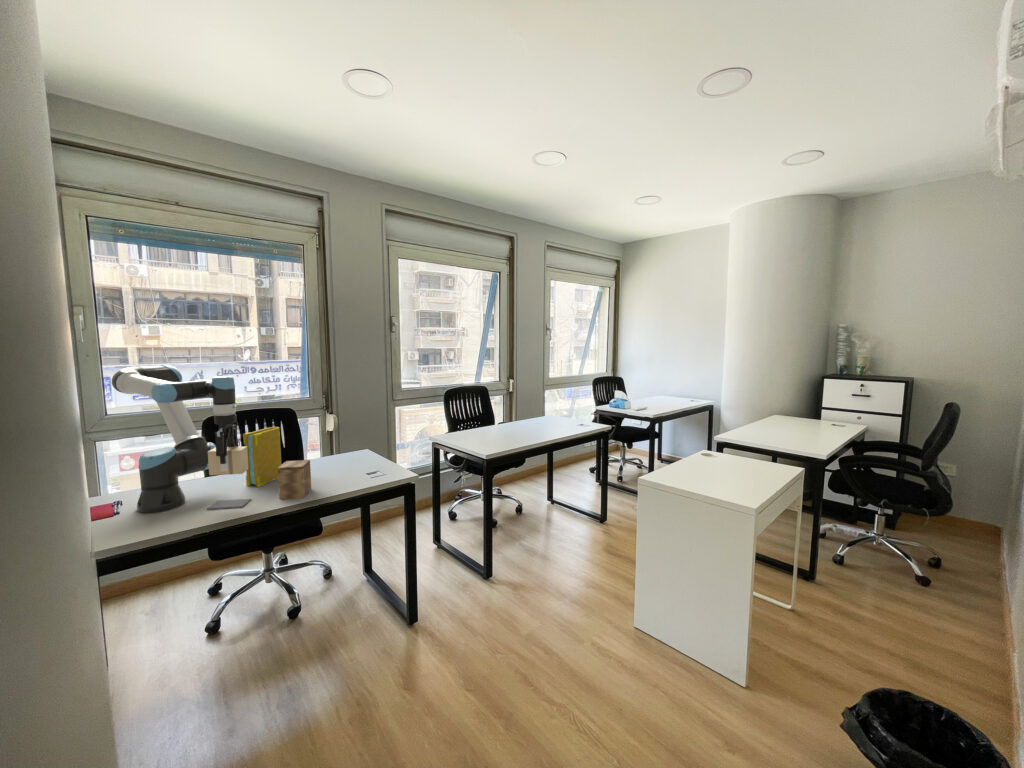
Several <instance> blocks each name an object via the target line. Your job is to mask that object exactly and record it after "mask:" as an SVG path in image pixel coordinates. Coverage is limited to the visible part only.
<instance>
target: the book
mask: <svg viewBox="0 0 1024 768" xmlns="http://www.w3.org/2000/svg"><path fill="white" fill-rule="evenodd" d="M242 437H243V438H242V439H243V445H244V447H246V446H247V453H248V470H247V471H245V472H246V476H245V483H246V486H247V487H251V486H253V485H254V486H255V487H256V488H259V487H262V486H264V485H265V484H268V483H269V482H271V481H273V480H278V467H280V466H281V465H282V450H281V448H282V447H281V431H280V426H269V427H265V428H262V429H257V430H255V431H252V432H251V431H250V432H246V433H243V434H242Z"/></svg>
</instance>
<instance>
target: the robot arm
mask: <svg viewBox="0 0 1024 768" xmlns="http://www.w3.org/2000/svg"><path fill="white" fill-rule="evenodd" d="M111 386H112V387H113V388H114V390H115V391H117V392H118V393H121V394H125V395H136V394H137V395H141V396H145V397H149V398H150V399H151V400H153V401H155V403H156V404H157V406H158V409H159V411H160V413H161V415H162V418H163V420H164V422H165V424H166V425H167V428H168V430H169V432H170V435H171V437H172V439H173V441H174V443H175V445H174V446H173V447H172V446H166V447H160V448H155V449H152V450H148V451H146V452H144V453H143V454H141V455H140V456H139V458H138V465H137V466H138V471H139V480H140V490H141V491H140V494H139V497H138V501H137V504H136V511H137V513H141V514H153V513H159V512H164V511H165V512H166V511H169V510H172V509H175V508H177V507H180V506H181V505H183V504H184V503H185V502H186V495H185V493H184V492H183V490H182V488H181V486H180V485H179V477H182V476H186V475H191V474H194V473H198V472H204V471H205V470H209V463H208V451H210V450H211V449H213V448H215V447H216V456H220V471H229V466H228V455H227V447H237V446H238V447H239V444H238V442H239V441H238V433H237V432H238V431H237V427H238V425H237V424H236V423H237V422H238V421H237V419H238V418H237V414H236V412H237V407H238V405H236V384H235V379H234V377H233V376H231V375H221V376H220V375H219V376H213V377H212V378H211V379H209V378H205V379H202V378H201V379H198V380H190V381H187V380H186V381H184V379H183V376H182V374H181V371H180V370H179V369H178V368H176V367H175V366H174V365H173V366H172V365H162V364H159V365H149V366H146V365H145V366H130V367H129V366H128V367H125V368H121V369H120V370H118V371H117V372H116V373H114V374H113V376H112V378H111ZM202 399H203V400H204V399H212V404H213V406H212V407H213V414H214V415H213V419H214V420H213V421H214V424H215V425H216V426H217V425H218V431H215V432H214V437H215V443H213V442H209V441H206V438H205V437H204V436H200V435H199V432H198V431H197V428H196V427H195V424H194V423H193V419H192V418H191V416H190V414H189V412H188V410H187V408H186V405H185V404H184V402H183V401H193V400H202Z"/></svg>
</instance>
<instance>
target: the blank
mask: <svg viewBox="0 0 1024 768" xmlns="http://www.w3.org/2000/svg"><path fill="white" fill-rule="evenodd" d="M227 455H228V466H229V471H220V456H216V447H215V448H213V449H211V450H210V451H208V463H209V469H208V474H209V476H221V475H222V476H224V475H241V474H242V475H243V474H244V473H245V472H246V471H247V470H248V453H247V446H246V447H245V446H239V445H238V446H237V447H228V446H227Z"/></svg>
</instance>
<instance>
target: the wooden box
mask: <svg viewBox="0 0 1024 768" xmlns="http://www.w3.org/2000/svg"><path fill="white" fill-rule="evenodd" d="M311 471H312V470H311V459H296V460H294V459H293V460H286V461H284V462H283V463H281V466H280V467H278V478H277V480H278V481H277V482H278V499H279V500H285V499H286V500H287V499H303V498H305V497H306V496H307V495H308V494H309V492H310V491H312V477H311V476H312V473H311Z"/></svg>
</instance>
